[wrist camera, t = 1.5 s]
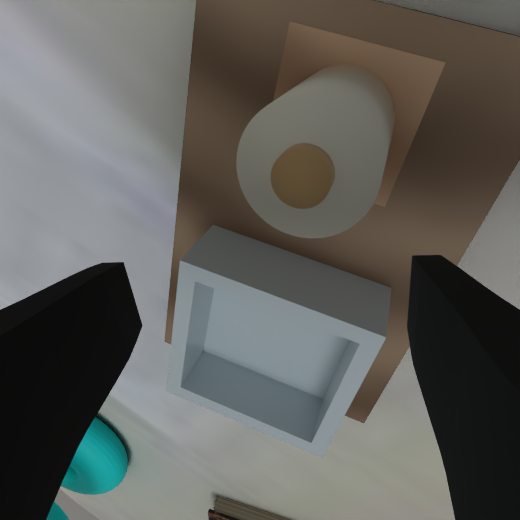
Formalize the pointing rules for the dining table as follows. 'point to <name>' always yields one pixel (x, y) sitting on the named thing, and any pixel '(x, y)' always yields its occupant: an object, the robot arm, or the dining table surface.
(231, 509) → the hardcover book
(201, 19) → the brown rectangular board
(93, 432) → the donuts
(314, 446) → the pale grey open tray
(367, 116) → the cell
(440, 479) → the dining table surface
